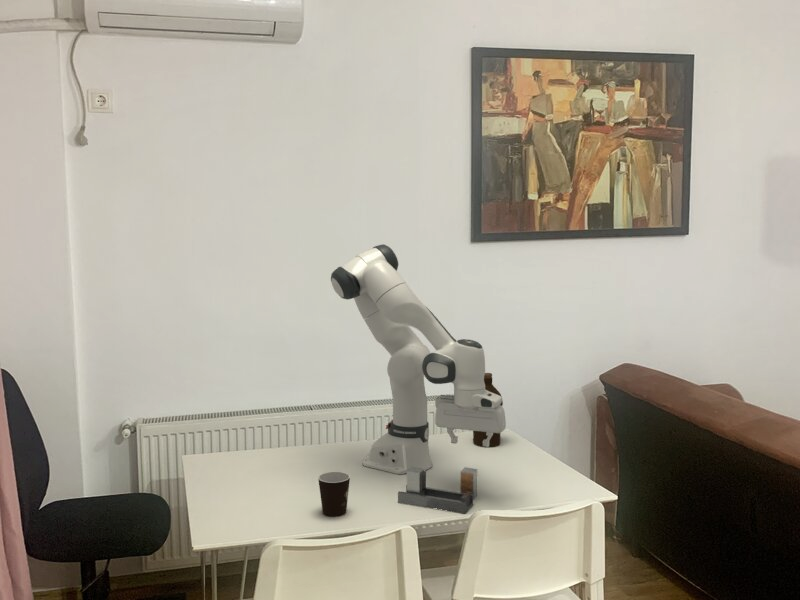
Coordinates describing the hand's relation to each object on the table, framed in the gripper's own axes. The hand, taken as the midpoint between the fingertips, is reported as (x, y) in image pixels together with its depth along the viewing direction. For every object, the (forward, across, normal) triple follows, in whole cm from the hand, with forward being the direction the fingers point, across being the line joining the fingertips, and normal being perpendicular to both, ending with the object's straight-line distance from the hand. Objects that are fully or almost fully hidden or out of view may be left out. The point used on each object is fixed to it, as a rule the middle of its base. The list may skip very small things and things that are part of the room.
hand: (470, 444), depth 218 cm
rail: (+15, -8, -8) cm, 19 cm away
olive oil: (+16, -11, +50) cm, 54 cm away
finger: (+16, 0, 0) cm, 16 cm away
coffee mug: (+15, -30, -24) cm, 41 cm away
